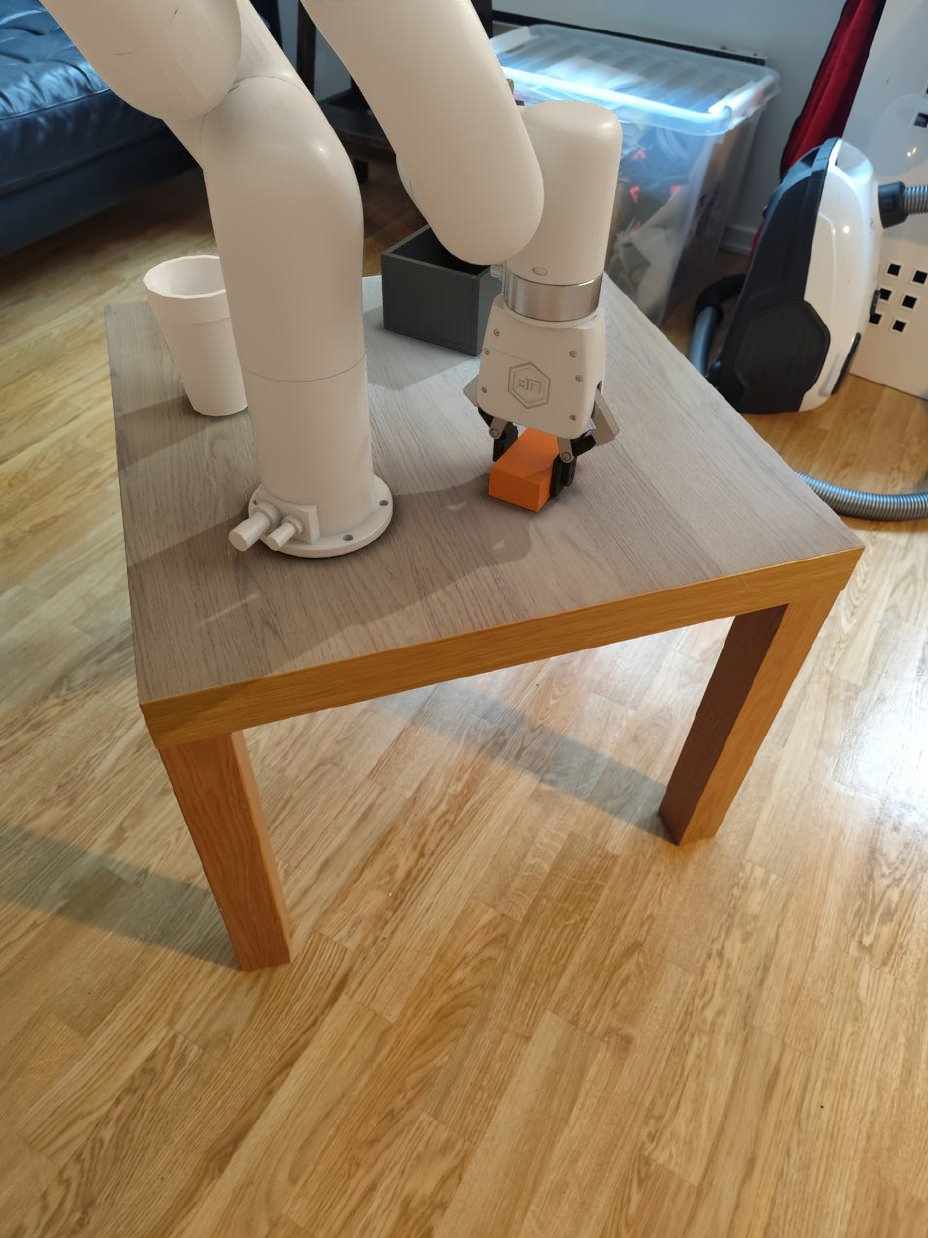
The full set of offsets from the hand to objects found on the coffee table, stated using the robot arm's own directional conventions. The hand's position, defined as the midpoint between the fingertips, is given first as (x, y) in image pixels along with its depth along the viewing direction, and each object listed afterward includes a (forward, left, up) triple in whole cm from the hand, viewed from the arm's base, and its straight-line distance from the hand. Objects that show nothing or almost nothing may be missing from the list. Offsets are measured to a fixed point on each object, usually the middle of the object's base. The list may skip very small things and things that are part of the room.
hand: (532, 477), depth 77 cm
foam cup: (-4, +34, -1) cm, 34 cm away
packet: (0, 0, 0) cm, 0 cm away
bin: (+26, +22, 0) cm, 34 cm away
